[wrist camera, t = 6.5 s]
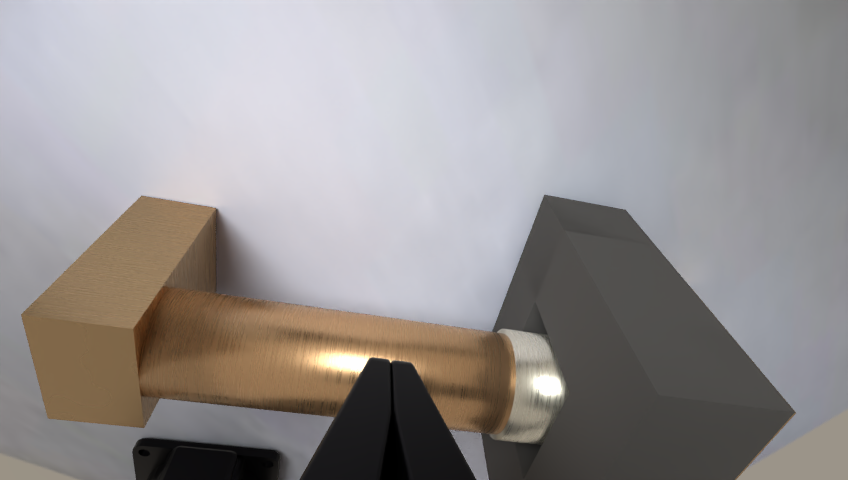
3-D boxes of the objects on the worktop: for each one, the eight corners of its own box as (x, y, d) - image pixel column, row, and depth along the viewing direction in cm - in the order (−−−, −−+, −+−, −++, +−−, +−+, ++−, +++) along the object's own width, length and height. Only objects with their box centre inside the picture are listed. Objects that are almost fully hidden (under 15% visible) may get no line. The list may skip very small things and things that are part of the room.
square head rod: (689, 286, 19) (799, 417, 14) (649, 351, 21) (733, 490, 16) (141, 195, 16) (16, 319, 11) (148, 281, 18) (44, 423, 13)
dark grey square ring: (625, 209, 17) (795, 412, 10) (538, 390, 22) (608, 620, 14) (544, 194, 17) (658, 395, 9) (473, 382, 21) (511, 615, 14)
